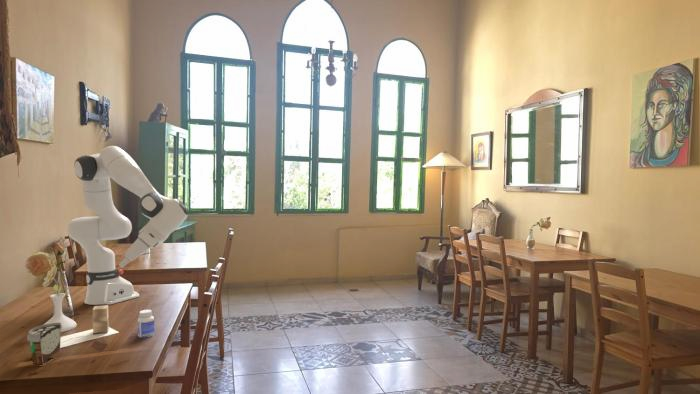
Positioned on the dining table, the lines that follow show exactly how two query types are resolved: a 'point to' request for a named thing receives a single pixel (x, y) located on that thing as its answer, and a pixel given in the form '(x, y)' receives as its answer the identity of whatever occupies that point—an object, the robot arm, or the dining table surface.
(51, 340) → the food container
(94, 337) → the board
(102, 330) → the sanding block
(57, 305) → the flower in vase
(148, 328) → the pill bottle
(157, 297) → the dining table surface
